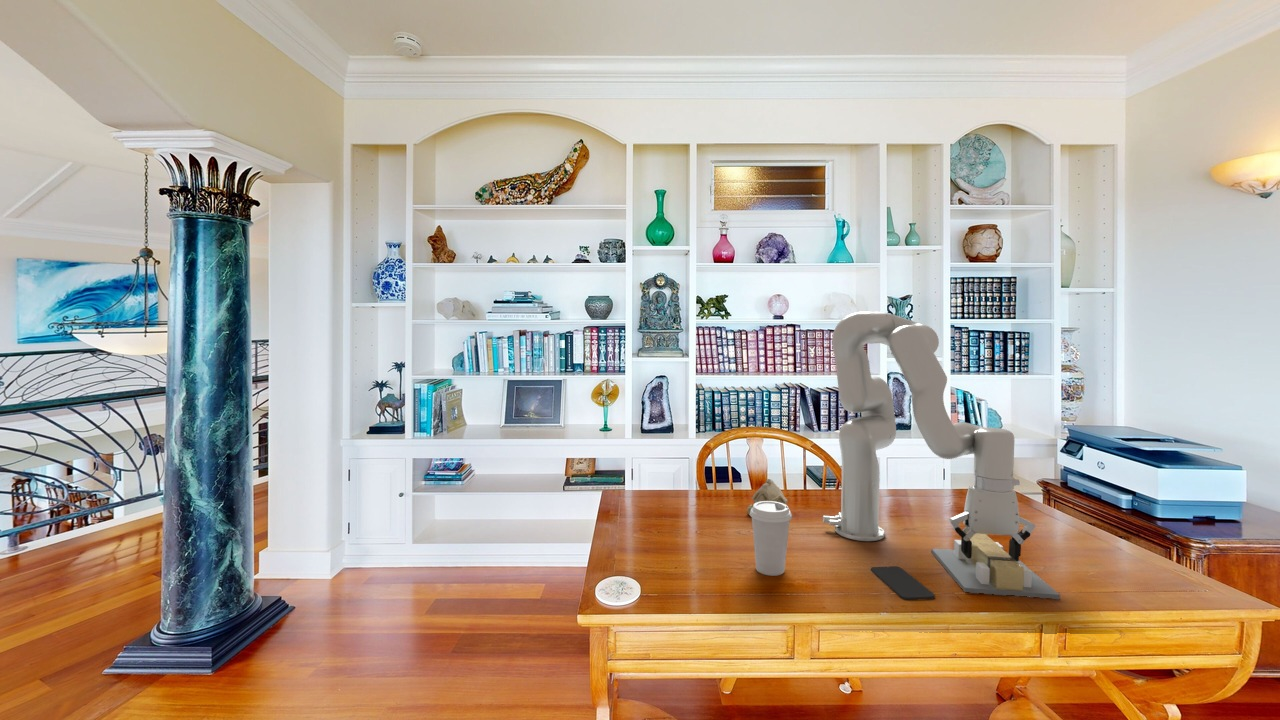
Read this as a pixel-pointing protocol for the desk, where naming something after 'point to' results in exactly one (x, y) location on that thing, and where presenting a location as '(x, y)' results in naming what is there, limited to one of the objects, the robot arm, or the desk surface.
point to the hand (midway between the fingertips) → (990, 557)
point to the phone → (902, 583)
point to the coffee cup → (770, 536)
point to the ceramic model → (768, 494)
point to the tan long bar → (997, 563)
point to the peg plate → (988, 575)
